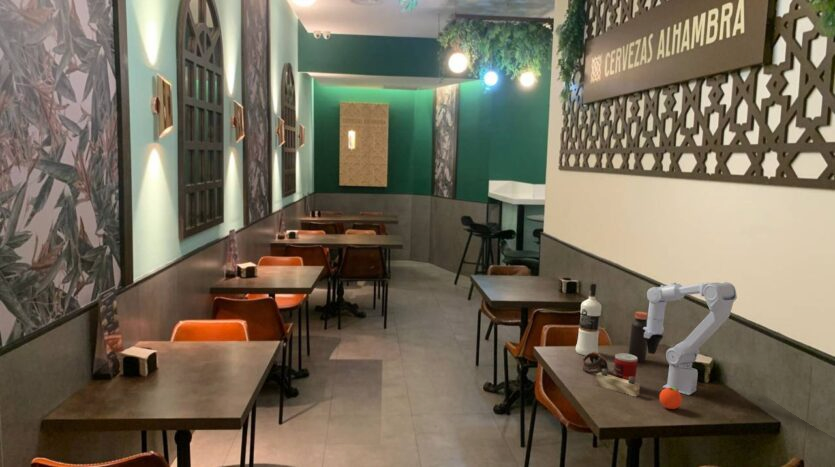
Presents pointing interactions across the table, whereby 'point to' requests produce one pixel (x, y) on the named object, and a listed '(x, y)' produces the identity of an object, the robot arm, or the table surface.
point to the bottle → (638, 337)
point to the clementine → (670, 398)
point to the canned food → (625, 366)
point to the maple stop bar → (617, 383)
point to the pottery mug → (594, 362)
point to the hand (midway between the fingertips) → (651, 353)
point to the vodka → (589, 324)
